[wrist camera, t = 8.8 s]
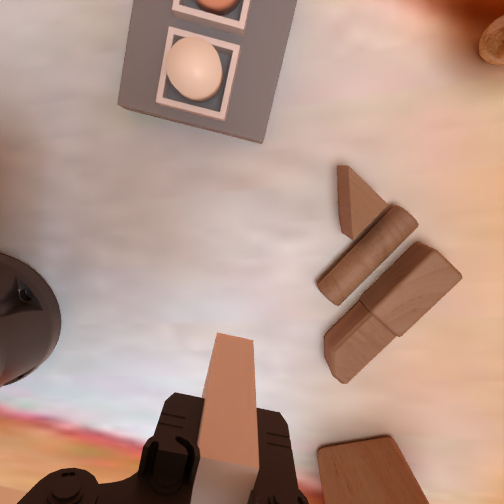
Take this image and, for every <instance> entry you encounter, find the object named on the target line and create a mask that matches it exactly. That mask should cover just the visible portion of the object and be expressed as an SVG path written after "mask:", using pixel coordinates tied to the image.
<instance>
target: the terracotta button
mask: <svg viewBox="0 0 504 504" xmlns="http://www.w3.org/2000/svg"><path fill="white" fill-rule="evenodd" d="M195 1H196V3H197V4H198V6H199V7H200V8H201V9H202V10H203V11H205V12H207V13H211V14H215V15H218V16H220V15H225V14H228V13H229V12H231V11H232V10H234V8H235V7H236V6H237V5H238V3H239V1H240V0H195Z"/></svg>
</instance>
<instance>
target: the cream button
mask: <svg viewBox="0 0 504 504" xmlns="http://www.w3.org/2000/svg"><path fill="white" fill-rule="evenodd" d="M166 70H167V75H168V77H169V80H170V81H171V83H172V84H173V86H174V87H175V88H176V89H177V90H178V91H179V92H180V93H181V95H183V96H184V97H185V98H187V99H189V100H191V101H195V102H203V101H207V100H209V99H211V98H212V97H214V96H215V95H216V94H217V93H218V91H219V89H220V88H221V85H222V81H223V71H222V67H221V62H220V58H219V55H218V53H217V51H216V50H215V48H214V47H213V46H212V45H211V44H210V43H209V42H208V41H206V40H204V39H202V38H199V37H185V38H183V39H181V40H179V41H177V42H176V43H175V44H174V45H173V46H172V48H171V49H170V51H169V53H168V55H167V59H166Z"/></svg>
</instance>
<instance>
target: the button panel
mask: <svg viewBox="0 0 504 504" xmlns="http://www.w3.org/2000/svg"><path fill="white" fill-rule="evenodd" d="M296 3H297V0H240V1H239V3H238V5H237V6H236V7H235V8H234V10H232V11H231V12H229V13H228V14H225V15H220V16H218V15H215V14H211V13H207V12H205V11H203V10H202V9H201V8H200V7H199V6H198V4H197V3H196V1H195V0H134V1H133V7H132V14H131V20H130V27H129V33H128V40H127V46H126V53H125V59H124V66H123V72H122V79H121V85H120V92H119V98H118V105H119V106H121V107H123V108H125V109H128V110H132V111H135V112H139V113H143V114H147V115H151V116H155V117H159V118H163V119H167V120H171V121H175V122H179V123H182V124H186V125H190V126H194V127H198V128H202V129H206V130H210V131H214V132H218V133H222V134H226V135H230V136H233V137H237V138H241V139H245V140H249V141H253V142H257V143H261V144H262V143H263V140H264V136H265V132H266V127H267V123H268V119H269V115H270V111H271V107H272V102H273V98H274V94H275V90H276V86H277V82H278V78H279V73H280V69H281V65H282V61H283V57H284V53H285V48H286V44H287V40H288V36H289V32H290V28H291V23H292V19H293V15H294V11H295V7H296ZM185 37H199V38H202V39H204V40H206V41H208V42H209V43H210V44H211V45H212V46H213V47H214V48H215V50H216V51H217V53H218V55H219V58H220V62H221V67H222V71H223V81H222V85H221V88H220V89H219V91H218V93H217V94H216V95H215V96H214V97H212V98H211V99H209V100H207V101H203V102H195V101H191V100H189V99H187V98H185V97H184V96H183V95H181V93H180V92H179V91H178V90H177V89H176V88H175V87H174V86H173V84H172V83H171V81H170V80H169V77H168V75H167V70H166V59H167V55H168V53H169V51H170V49H171V48H172V46H173V45H174V44H175V43H176V42H177V41H179V40H181V39H183V38H185Z"/></svg>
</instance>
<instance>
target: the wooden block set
mask: <svg viewBox="0 0 504 504" xmlns="http://www.w3.org/2000/svg"><path fill="white" fill-rule="evenodd" d="M337 176H338V203H339V218H340V225H341V230H342V233H343V234H345V235H346V236H347V237H349V238H350V239H352V240H354V239H355V238H356V237H357V236H358V235H359V234H360V233H361V232H362V231H363V230H364V229H365V228H366V227H367V226H368V225H369V224H370V223H371V222H372V221H373V220H374V219H375V217H376V216H377V215H378V214H379V213H380V212H381V211H382V210H383V209H384V208H385V207H386V206H387V205H388V204H387V203H386V202H385V201H384V200H383V199H382V198H381V197H380V196H379V195H378V194H377V193H376V192H375V191H374V190H373V189H372V188H371V187H370V186H369V185H368V184H367V183H366V182H365V181H364V180H362V179H361V178H360V177H359V176H358V175H357V174H356V173H355V172H354V171H353V170H352V169H351V168H350V167H349V166H337ZM417 227H418V223H417V221H416V220H415V218H414V217H413V216H412V215H411V214H409V213H408V212H407V211H406V210H404V209H403V208H401V207H399V206H396V205H395V206H393V207H392V208H391V209H390V210H389V211H388V212H387V213H386V214H385V215H384V216H383V218H382V219H381V220H380V221H379V222H378V223H377V224H376V225H375V226H374V227H373V228H372V229H371V230H370V231H369V232H368V233H367V234H366V235H365V236H364V237H363V238H362V239H361V240H360V241H359V242H358V243H357V244H356V245H355V246H354V247H353V248H352V249H351V250H350V251H349V252H348V253H347V255H346V256H345V257H344V258H343V259H342V260H341V261H340V262H339V263H338V264H337V265H336V266H335V267H334V268H333V269H332V270H331V271H330V272H329V273H328V274H327V275H326V276H325V277H324V278H323V279H322V280H321V281H320V282H319V283H318V285H317V287H318V289H319V290H320V292H321V293H322V294H323V295H324V296H325V297H326V298H327V299H328V300H330V301H331V302H332V303H333V304H335V305H337V306H339V305H340V304H341V303H342V302H343V301H344V300H345V299H346V298H347V297H348V296H349V295H350V294H351V293H352V292H353V291H354V290H355V289H356V288H357V287H358V286H359V285H360V284H361V283H362V282H363V281H364V280H365V279H366V278H367V277H368V276H369V275H370V274H371V273H372V272H373V271H374V270H375V269H376V268H377V267H378V266H379V265H380V264H381V263H382V262H383V261H384V260H385V259H386V258H387V257H388V256H389V255H390V254H391V253H392V252H393V251H394V250H395V249H396V248H397V247H398V246H399V245H400V244H401V243H402V242H403V241H404V240H405V239H406V238H407V237H408V236H409V235H410V234H411V233H412V232H413V231H414V230H415V229H416V228H417ZM461 279H462V275H461V273H460V272H459V271H458V270H457V269H456V268H455V267H454V266H453V265H452V264H451V263H450V262H449V261H448V260H446V259H445V258H444V257H443V256H442V255H441V254H440V253H439V252H438V251H437V250H435V249H433V248H431V247H429V246H427V245H424V244H422V243H420V242H415V243H414V244H413V245H412V246H411V247H410V248H409V249H408V250H407V251H406V252H405V253H404V254H403V255H402V256H401V257H400V258H399V259H398V260H397V261H396V262H395V263H394V264H393V265H392V266H391V267H390V268H389V269H388V270H387V271H386V272H385V273H384V274H383V275H382V276H381V277H380V278H379V279H378V280H377V281H376V282H375V283H374V284H373V285H372V286H371V287H370V288H369V289H368V290H366V291H365V292H364V293H363V294H362V295H361V297H360V301H359V302H358V303H357V304H356V305H355V306H354V307H353V308H352V309H351V310H350V311H349V312H348V313H347V314H346V315H345V316H344V317H343V318H342V319H341V320H340V321H339V322H338V323H337V324H336V325H335V326H334V327H333V328H332V329H330V330H329V331H328V332H327V333H326V335H325V337H324V353H325V359H326V361H327V364H328V366H329V369H330V371H331V373H332V375H333V376H334V377H335V378H336V379H337V380H338V381H340V382H341V383H342V384H347V383H348V382H349V381H350V380H351V379H352V378H353V377H354V376H355V375H356V374H357V373H358V372H359V371H361V370H362V369H363V368H364V367H365V366H366V365H367V364H368V363H369V362H370V361H371V360H372V359H373V358H374V357H375V356H376V355H377V354H378V353H379V352H381V351H382V350H383V349H384V348H385V347H386V346H387V345H388V344H389V343H390V342H391V341H392V340H393V339H394V338H395V337H396V336H398V337H400V336H402V335H403V334H404V333H405V332H406V331H407V330H408V329H409V328H411V327H412V326H413V325H414V324H415V323H416V322H417V321H418V320H419V319H420V318H421V317H422V316H423V315H424V314H425V313H426V312H427V311H428V310H430V309H431V308H432V307H433V306H434V305H435V304H436V303H437V302H438V301H439V300H440V299H441V298H442V297H443V296H444V295H445V294H446V293H447V292H449V291H450V290H451V289H452V288H453V287H454V286H455V285H456V284H457V283H458V282H459V281H460V280H461Z"/></svg>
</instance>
